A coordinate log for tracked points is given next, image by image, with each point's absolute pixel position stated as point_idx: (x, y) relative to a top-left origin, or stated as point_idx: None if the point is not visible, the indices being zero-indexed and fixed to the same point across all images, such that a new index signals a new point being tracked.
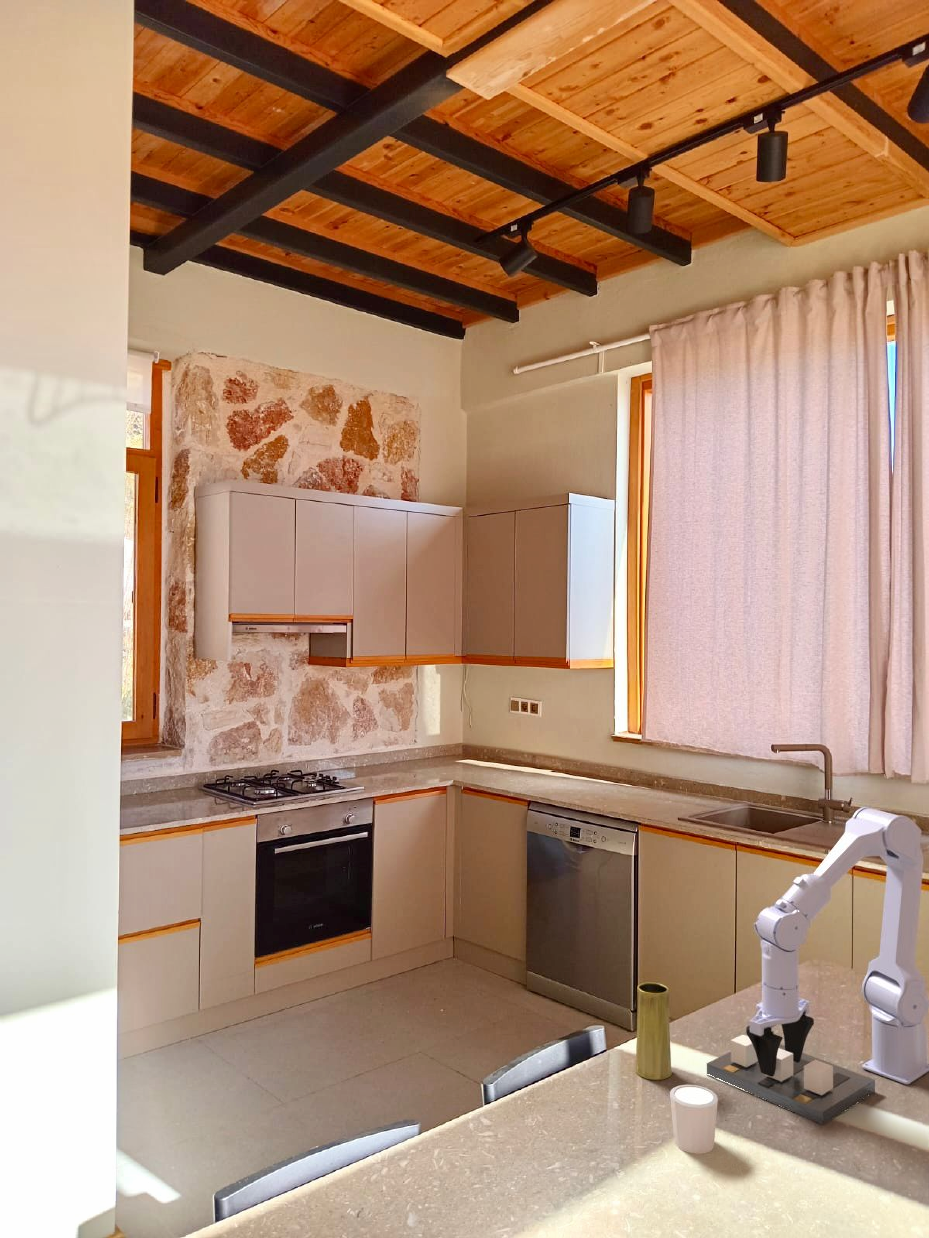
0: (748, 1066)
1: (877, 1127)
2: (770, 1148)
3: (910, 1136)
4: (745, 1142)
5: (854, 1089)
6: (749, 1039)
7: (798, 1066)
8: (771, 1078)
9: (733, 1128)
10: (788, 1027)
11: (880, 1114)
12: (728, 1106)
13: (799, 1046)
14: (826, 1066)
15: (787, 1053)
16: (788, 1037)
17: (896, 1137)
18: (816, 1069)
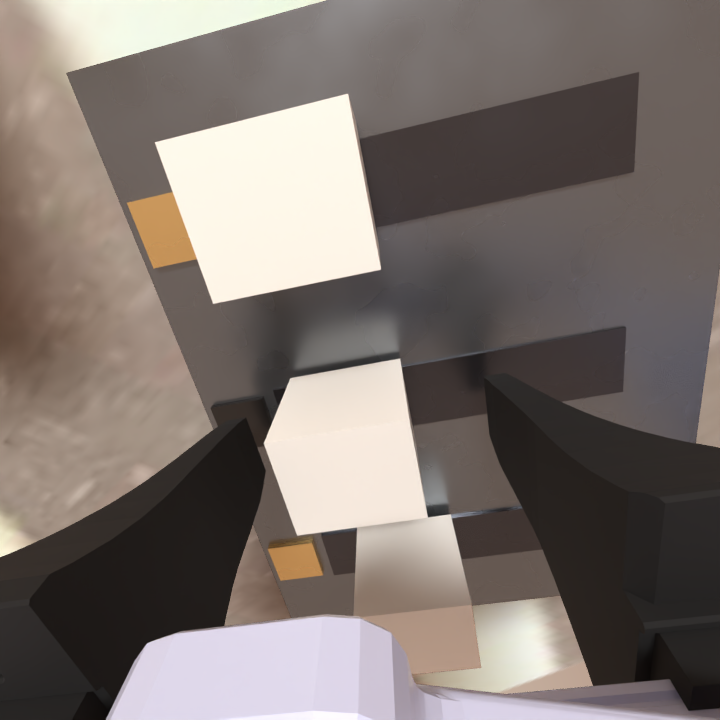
0: None
1: None
2: None
3: (466, 689)
4: (12, 548)
5: (532, 589)
6: (325, 220)
7: (526, 381)
8: None
9: (10, 487)
10: (571, 523)
11: (510, 615)
12: (65, 381)
13: (525, 507)
14: (451, 656)
15: (397, 502)
16: (536, 460)
17: (430, 680)
18: None
